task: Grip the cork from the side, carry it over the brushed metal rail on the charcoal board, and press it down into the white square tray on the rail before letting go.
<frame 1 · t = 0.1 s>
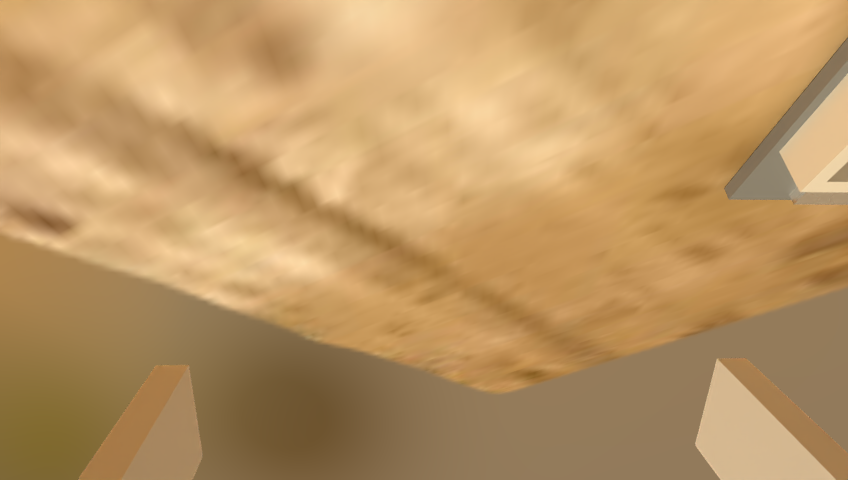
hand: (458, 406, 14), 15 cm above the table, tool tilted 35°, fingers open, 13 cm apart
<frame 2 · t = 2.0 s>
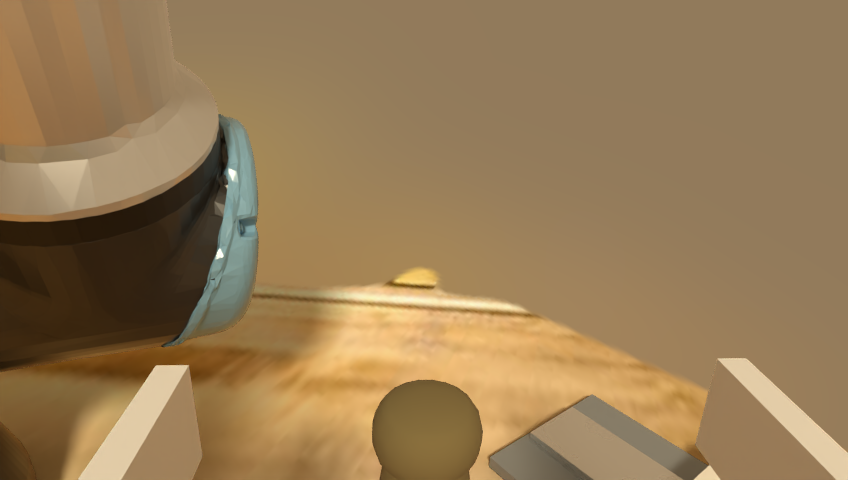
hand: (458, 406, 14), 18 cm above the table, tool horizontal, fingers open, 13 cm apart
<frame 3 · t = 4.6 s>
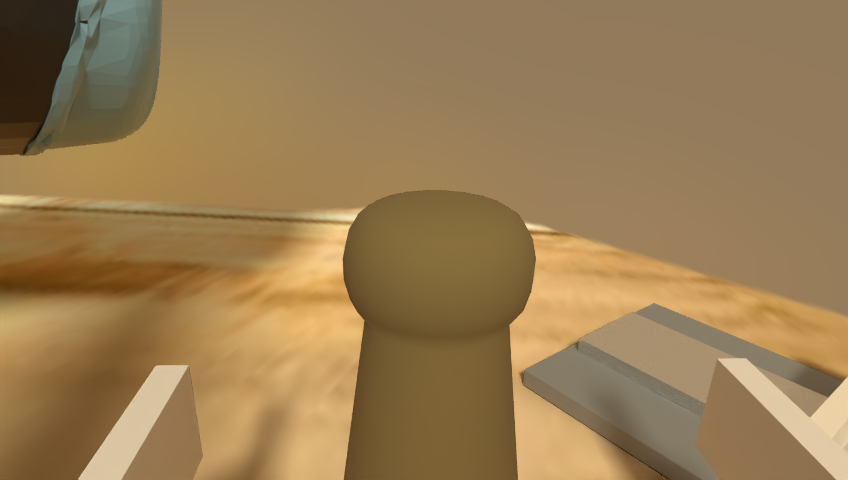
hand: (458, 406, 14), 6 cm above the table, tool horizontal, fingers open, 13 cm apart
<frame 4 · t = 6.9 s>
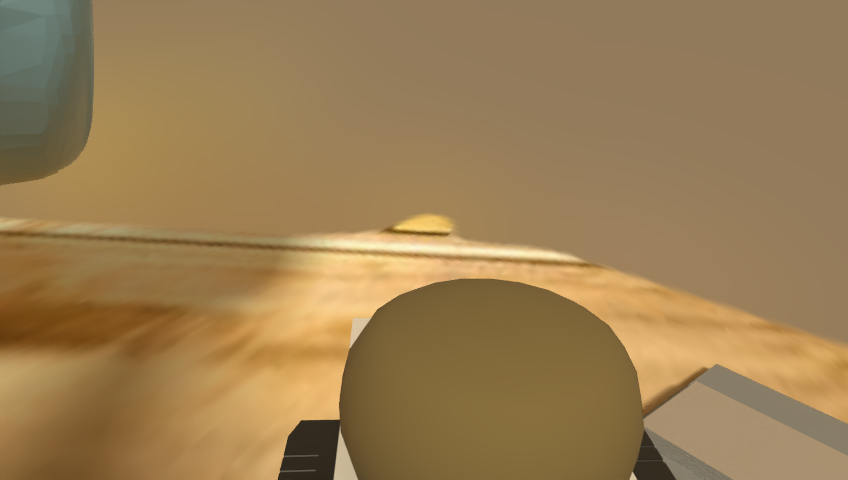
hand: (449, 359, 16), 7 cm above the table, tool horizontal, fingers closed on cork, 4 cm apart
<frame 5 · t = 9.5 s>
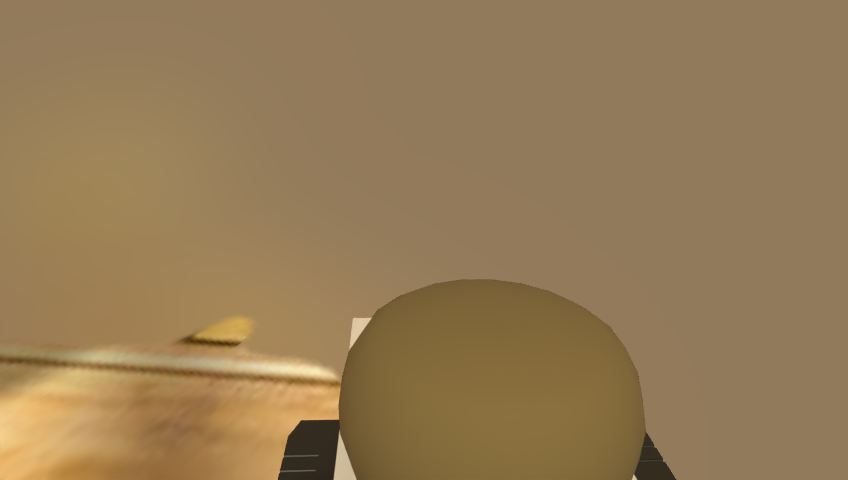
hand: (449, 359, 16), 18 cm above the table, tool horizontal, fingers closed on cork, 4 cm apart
when the fingers open (9 cm above the table, at t = 11.9 s): cork drops 1 cm, resting on metal rail.
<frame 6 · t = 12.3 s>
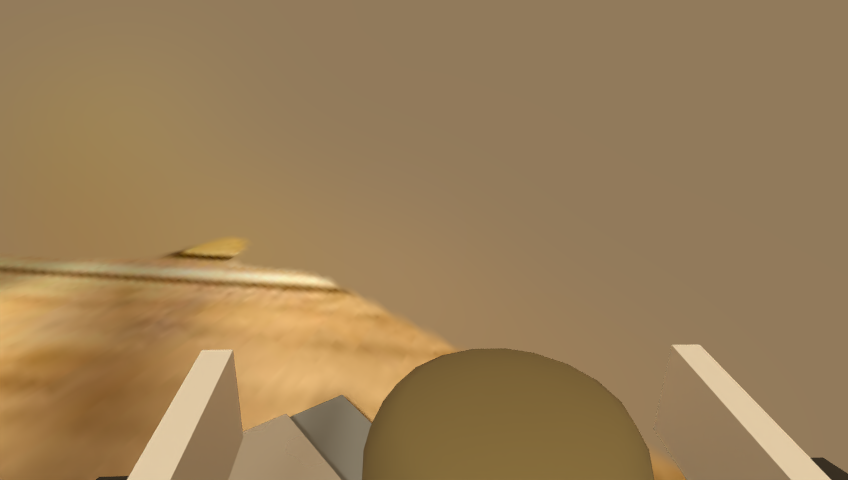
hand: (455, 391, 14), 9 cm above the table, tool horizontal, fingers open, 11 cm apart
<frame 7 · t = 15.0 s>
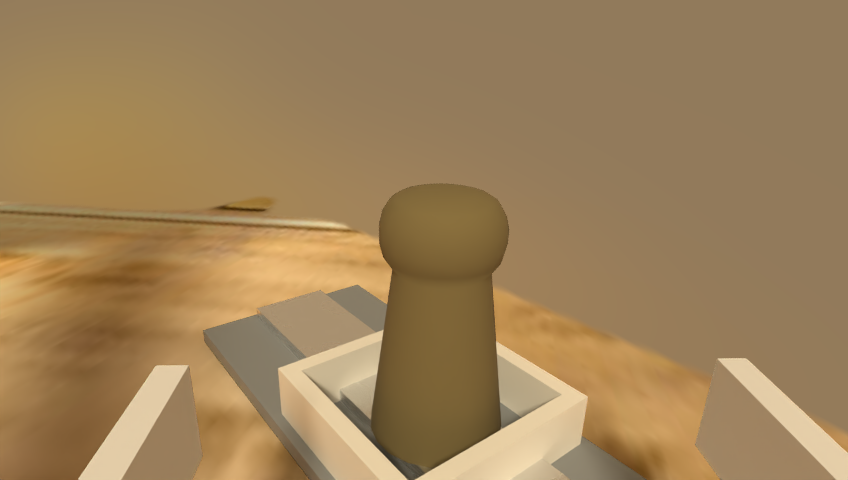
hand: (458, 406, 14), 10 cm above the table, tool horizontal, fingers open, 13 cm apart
cork: (435, 422, 26), point 1 cm above the table, touching metal rail
mounting board: (390, 409, 28), on the table
metal rail: (390, 390, 28), on the mounting board, point 1 cm above the table
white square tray: (426, 442, 26), resting on mounting board
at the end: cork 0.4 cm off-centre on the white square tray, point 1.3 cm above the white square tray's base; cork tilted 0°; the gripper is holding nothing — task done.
